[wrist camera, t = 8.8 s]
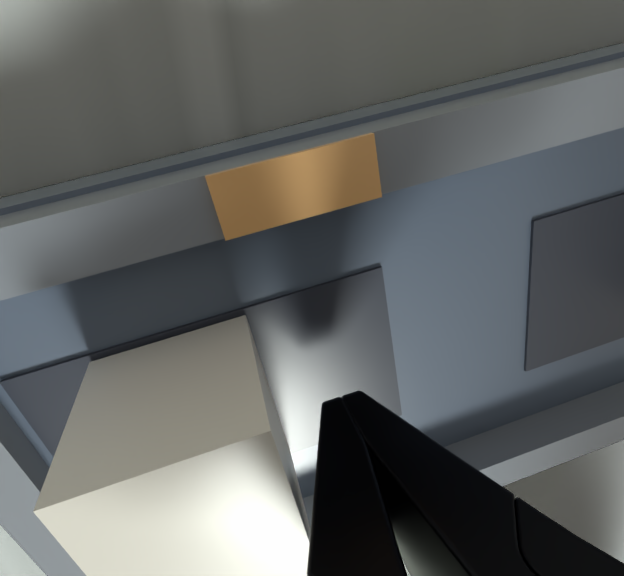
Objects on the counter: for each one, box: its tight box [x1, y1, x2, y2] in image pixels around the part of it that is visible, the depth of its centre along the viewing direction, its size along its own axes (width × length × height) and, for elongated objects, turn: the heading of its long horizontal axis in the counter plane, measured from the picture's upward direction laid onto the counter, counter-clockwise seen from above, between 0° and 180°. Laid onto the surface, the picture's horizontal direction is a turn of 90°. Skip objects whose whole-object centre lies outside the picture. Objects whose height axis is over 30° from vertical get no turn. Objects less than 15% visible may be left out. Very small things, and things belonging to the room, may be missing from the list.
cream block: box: [33, 315, 311, 576], centre depth 8 cm, size 4×3×3 cm
